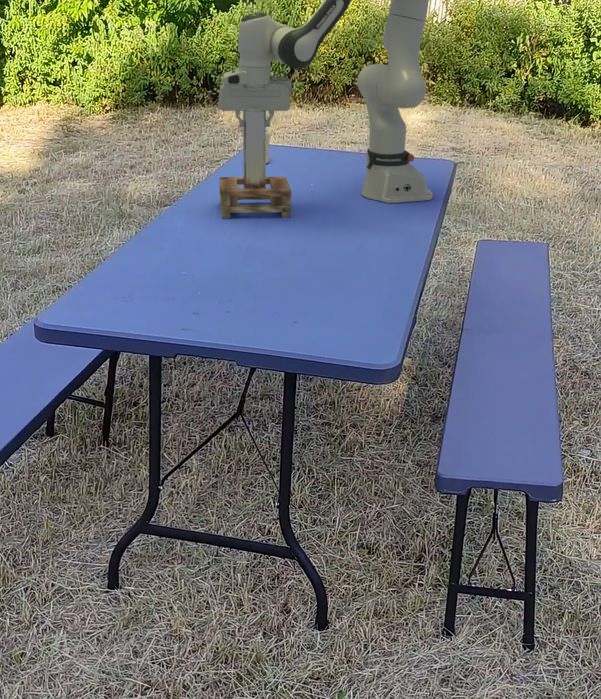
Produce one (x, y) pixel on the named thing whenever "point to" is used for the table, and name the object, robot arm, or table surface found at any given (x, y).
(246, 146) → the silver metal cylinder
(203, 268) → the table surface
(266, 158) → the beverage can
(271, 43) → the robot arm
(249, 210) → the frame
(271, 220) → the table surface
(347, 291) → the table surface
